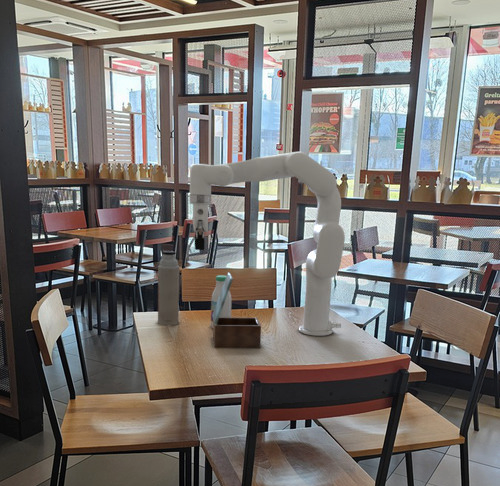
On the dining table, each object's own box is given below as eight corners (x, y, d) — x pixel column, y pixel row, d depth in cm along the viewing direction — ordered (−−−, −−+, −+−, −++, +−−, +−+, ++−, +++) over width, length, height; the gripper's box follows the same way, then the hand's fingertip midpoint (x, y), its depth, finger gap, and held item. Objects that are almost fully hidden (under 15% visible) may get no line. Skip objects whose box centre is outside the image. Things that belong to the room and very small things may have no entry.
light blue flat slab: (230, 273, 201) (227, 272, 201) (233, 279, 190) (230, 278, 190) (214, 316, 204) (212, 315, 203) (216, 324, 193) (214, 323, 193)
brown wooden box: (255, 338, 207) (256, 317, 206) (260, 347, 196) (261, 325, 195) (212, 338, 205) (213, 317, 204) (214, 347, 194) (215, 325, 193)
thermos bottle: (155, 324, 220) (155, 252, 213) (161, 319, 227) (161, 249, 221) (175, 326, 219) (176, 253, 212) (180, 321, 226) (181, 250, 220)
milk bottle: (231, 325, 223) (233, 275, 219) (229, 330, 216) (231, 278, 211) (212, 324, 224) (213, 273, 219) (209, 329, 216) (210, 277, 212)
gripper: (212, 201, 195) (210, 251, 199) (209, 198, 212) (208, 245, 216) (189, 200, 194) (189, 251, 198) (189, 198, 211) (188, 244, 215)
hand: (199, 247), depth 207 cm, fingers open, 9 cm apart
